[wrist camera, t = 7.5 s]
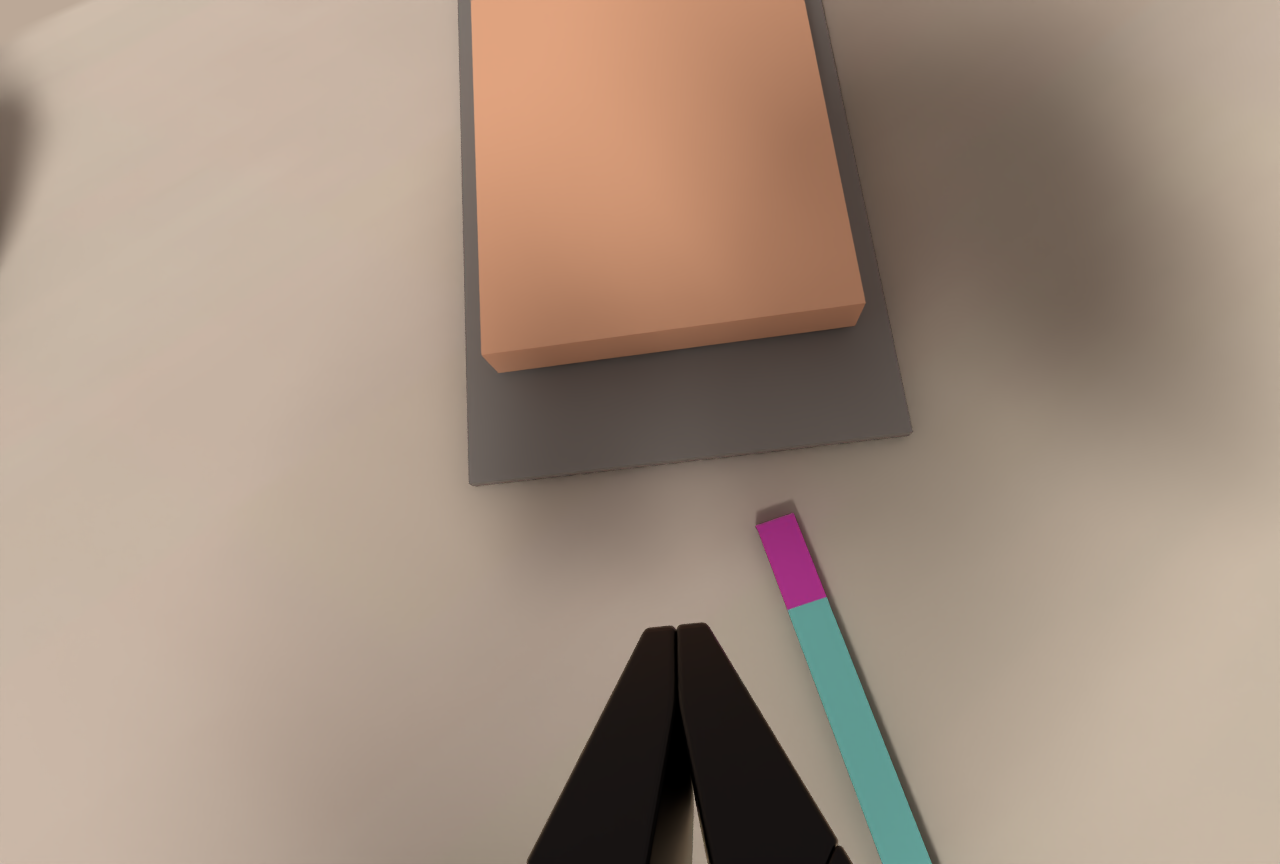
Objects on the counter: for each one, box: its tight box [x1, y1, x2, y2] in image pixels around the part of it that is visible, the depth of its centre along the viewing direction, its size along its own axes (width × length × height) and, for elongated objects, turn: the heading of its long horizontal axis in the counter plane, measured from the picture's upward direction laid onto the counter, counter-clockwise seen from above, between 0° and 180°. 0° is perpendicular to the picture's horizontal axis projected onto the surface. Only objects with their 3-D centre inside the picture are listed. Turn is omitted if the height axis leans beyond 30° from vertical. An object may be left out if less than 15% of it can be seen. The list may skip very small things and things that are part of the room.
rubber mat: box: [458, 0, 913, 486], centre depth 20 cm, size 18×12×1 cm, turn 5°
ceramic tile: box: [471, 0, 866, 373], centre depth 19 cm, size 2×10×12 cm
